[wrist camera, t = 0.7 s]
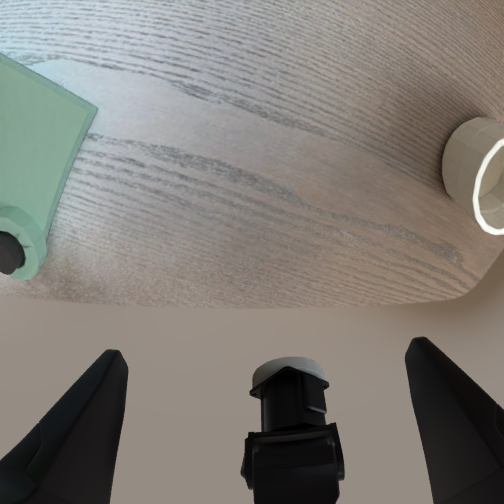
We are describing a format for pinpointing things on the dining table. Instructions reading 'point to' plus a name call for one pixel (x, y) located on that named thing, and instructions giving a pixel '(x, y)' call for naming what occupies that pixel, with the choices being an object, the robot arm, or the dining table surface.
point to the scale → (35, 155)
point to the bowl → (477, 172)
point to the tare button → (10, 253)
